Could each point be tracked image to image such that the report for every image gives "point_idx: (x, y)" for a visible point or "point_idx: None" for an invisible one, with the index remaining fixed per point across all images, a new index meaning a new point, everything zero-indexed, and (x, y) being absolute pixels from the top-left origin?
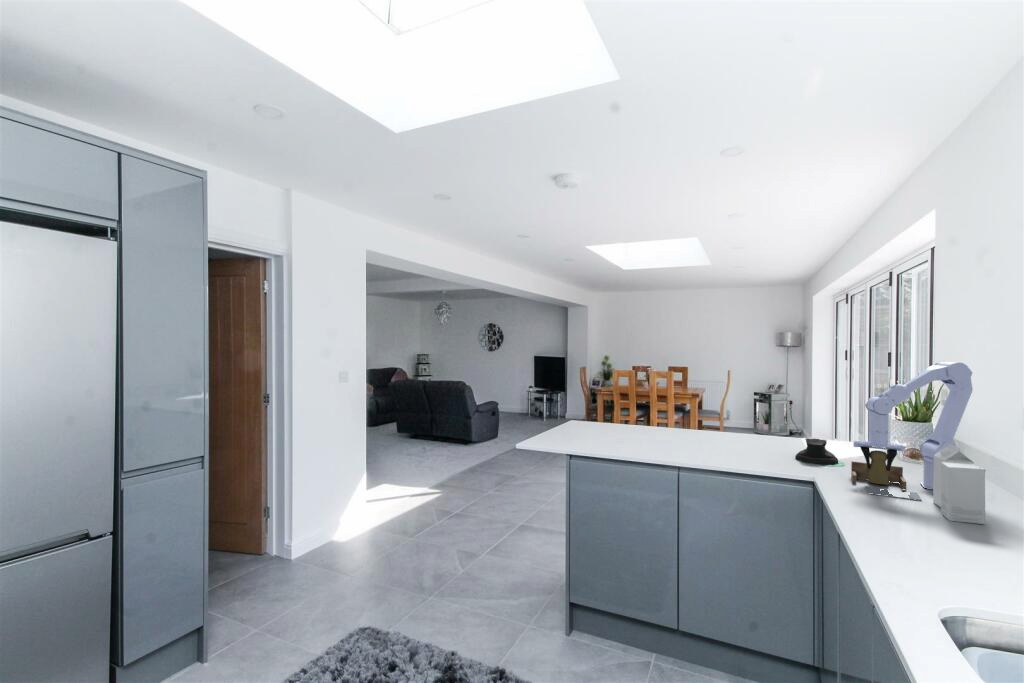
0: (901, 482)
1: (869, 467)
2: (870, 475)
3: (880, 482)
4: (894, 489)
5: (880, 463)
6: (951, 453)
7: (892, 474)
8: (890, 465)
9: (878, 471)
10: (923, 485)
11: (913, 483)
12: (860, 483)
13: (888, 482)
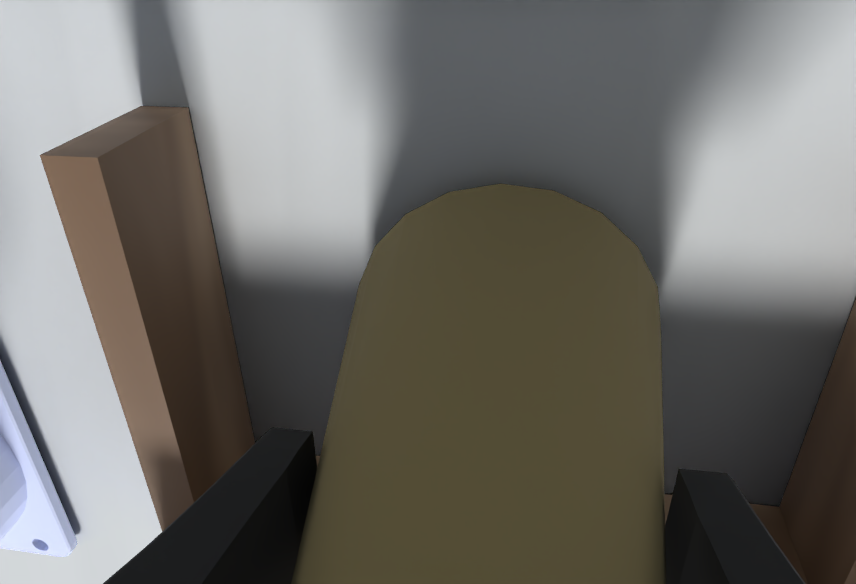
0: (171, 286)
1: (702, 491)
2: (650, 347)
3: (487, 202)
4: (297, 94)
5: (425, 550)
6: None
7: None
8: (178, 521)
9: (505, 351)
10: (9, 428)
11: (134, 523)
12: (799, 229)
13: (359, 289)
